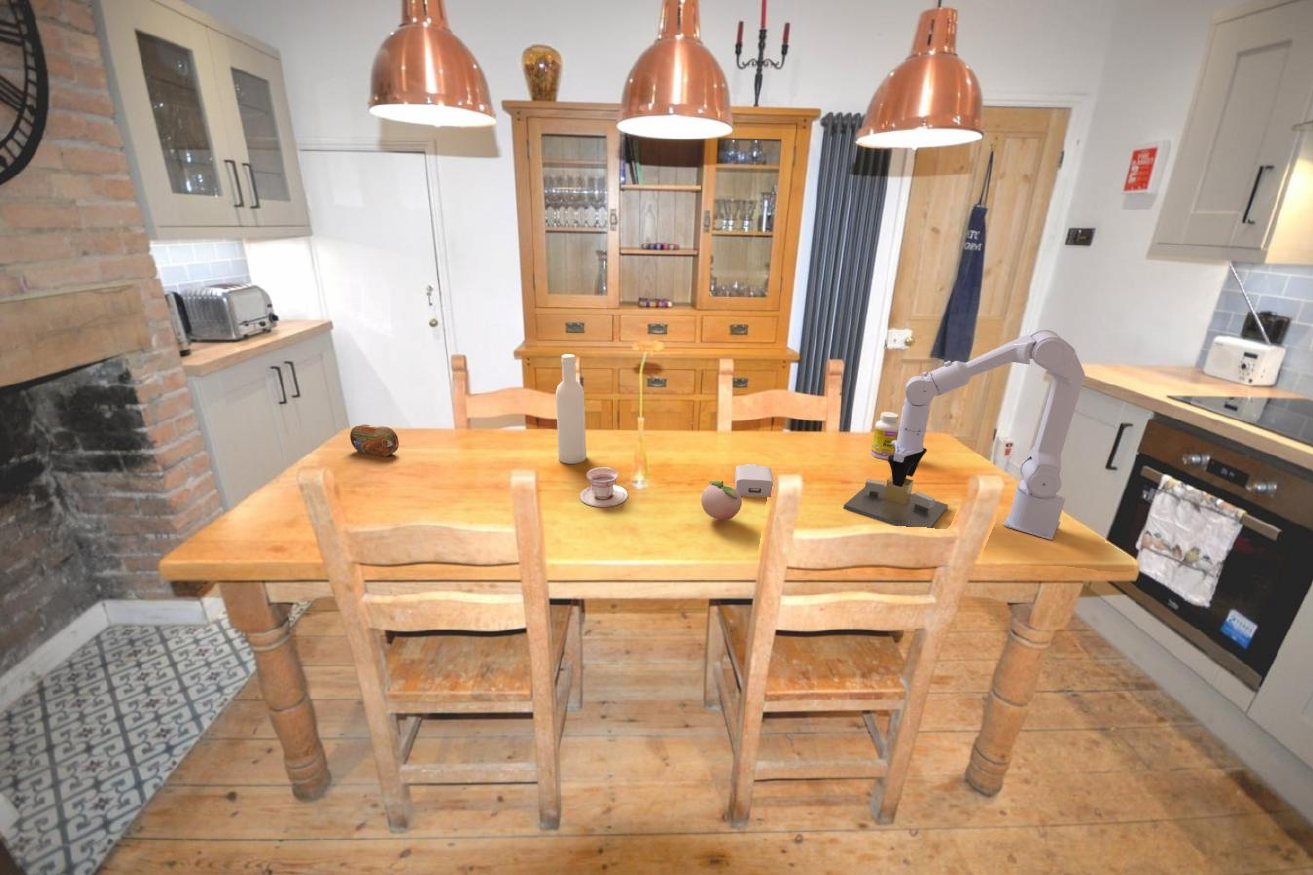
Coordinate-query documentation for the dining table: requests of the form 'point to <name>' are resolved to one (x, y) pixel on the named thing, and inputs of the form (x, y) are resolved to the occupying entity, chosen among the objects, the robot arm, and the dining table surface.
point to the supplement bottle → (885, 435)
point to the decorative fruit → (721, 501)
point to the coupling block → (898, 491)
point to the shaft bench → (896, 507)
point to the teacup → (603, 488)
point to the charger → (753, 480)
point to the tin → (374, 440)
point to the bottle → (570, 414)
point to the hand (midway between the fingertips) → (903, 480)
